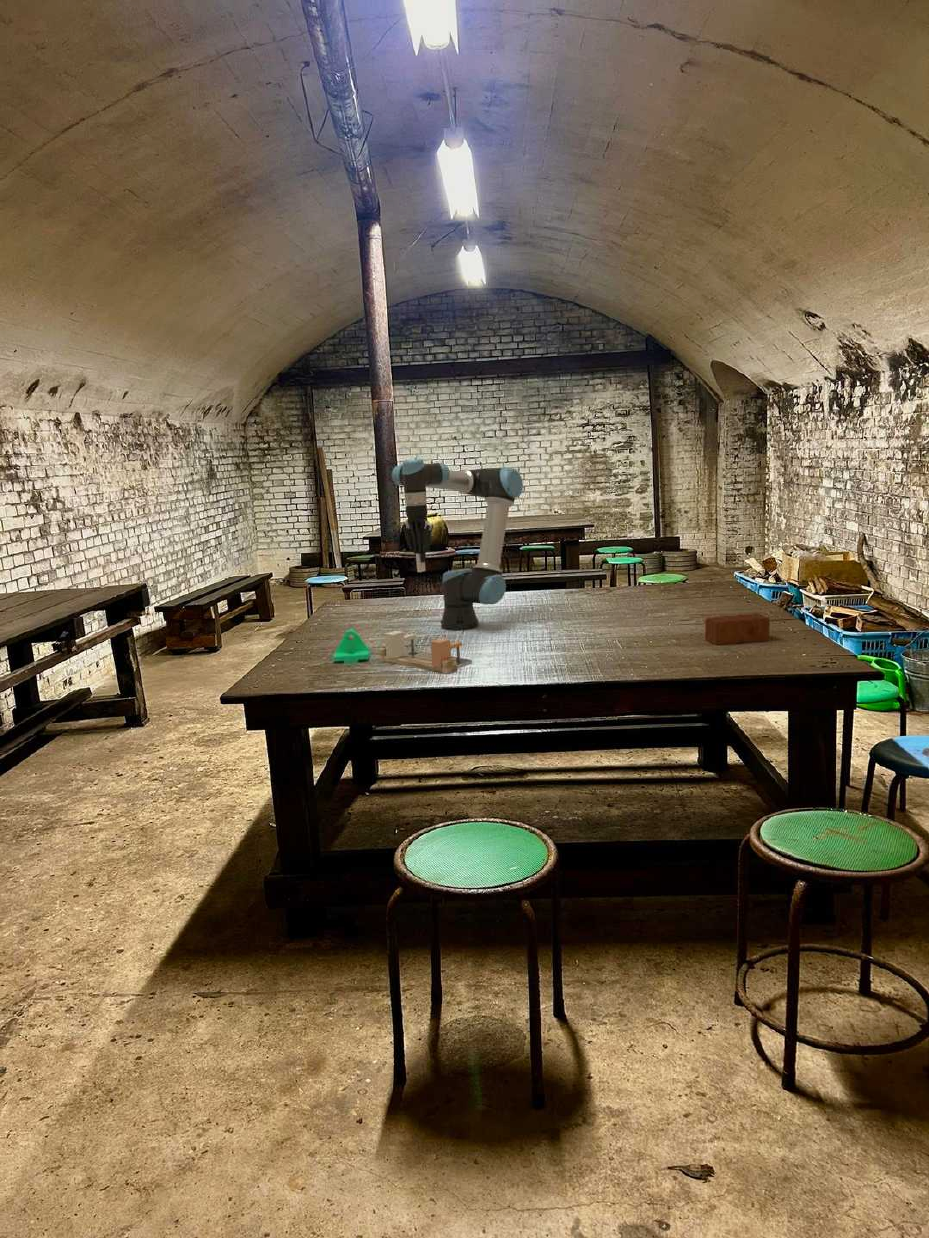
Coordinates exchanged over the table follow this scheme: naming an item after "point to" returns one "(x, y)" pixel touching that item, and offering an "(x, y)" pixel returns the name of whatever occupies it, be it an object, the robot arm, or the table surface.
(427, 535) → the robot arm
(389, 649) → the fixed leg
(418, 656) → the hole plate
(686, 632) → the table surface
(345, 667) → the table surface
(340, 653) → the camera mount
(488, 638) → the table surface
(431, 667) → the rail
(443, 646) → the slider leg
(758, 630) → the brick
